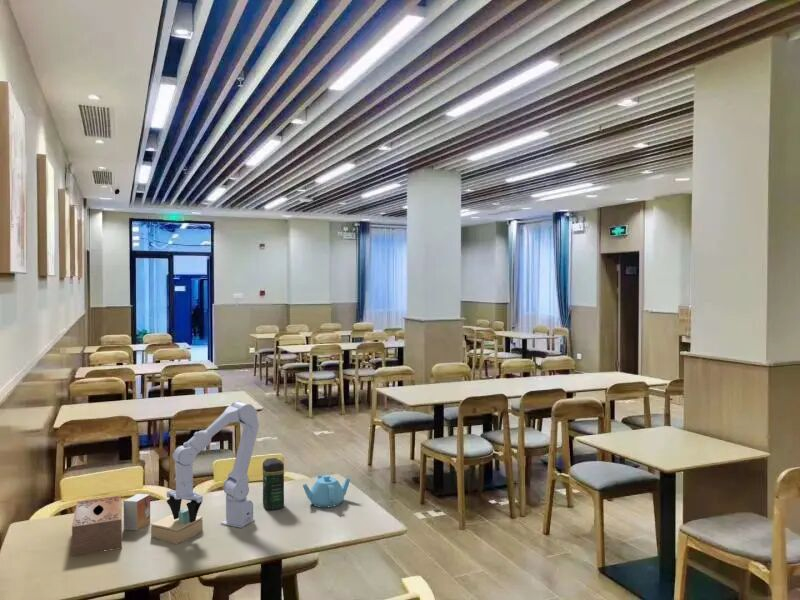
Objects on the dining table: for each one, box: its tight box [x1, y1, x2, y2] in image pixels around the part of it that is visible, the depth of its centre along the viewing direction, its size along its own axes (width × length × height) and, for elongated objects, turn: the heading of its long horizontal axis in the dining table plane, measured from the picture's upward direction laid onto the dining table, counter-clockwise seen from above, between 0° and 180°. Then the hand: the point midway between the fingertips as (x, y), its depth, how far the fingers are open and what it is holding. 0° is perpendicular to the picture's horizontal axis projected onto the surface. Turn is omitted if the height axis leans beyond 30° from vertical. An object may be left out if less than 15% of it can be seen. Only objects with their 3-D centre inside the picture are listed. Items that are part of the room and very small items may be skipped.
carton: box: [150, 518, 204, 545], centre depth 210 cm, size 12×12×4 cm
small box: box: [123, 493, 151, 531], centre depth 217 cm, size 8×6×10 cm
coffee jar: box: [262, 457, 285, 510], centre depth 237 cm, size 10×8×19 cm
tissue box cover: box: [71, 495, 123, 558], centre depth 207 cm, size 26×14×10 cm, turn 25°
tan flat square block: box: [150, 507, 203, 531], centre depth 210 cm, size 12×12×5 cm
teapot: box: [302, 474, 351, 508], centre depth 241 cm, size 15×15×11 cm
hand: (184, 519), depth 208 cm, fingers open, 7 cm apart
